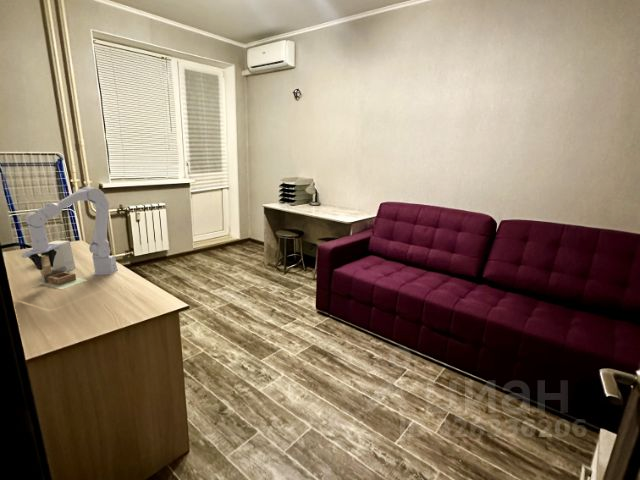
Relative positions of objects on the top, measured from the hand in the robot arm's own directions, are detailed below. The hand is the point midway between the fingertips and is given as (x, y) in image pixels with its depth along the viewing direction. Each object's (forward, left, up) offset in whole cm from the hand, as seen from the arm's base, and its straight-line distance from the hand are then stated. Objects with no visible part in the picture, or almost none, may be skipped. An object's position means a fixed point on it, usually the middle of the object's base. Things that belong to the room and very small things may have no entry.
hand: (45, 267), depth 154 cm
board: (-4, -4, -9) cm, 11 cm away
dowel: (0, 0, -3) cm, 2 cm away
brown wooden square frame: (-3, -5, -9) cm, 10 cm away
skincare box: (+5, -21, -10) cm, 23 cm away
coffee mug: (+20, -36, -9) cm, 42 cm away
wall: (+1, -7, -9) cm, 11 cm away
